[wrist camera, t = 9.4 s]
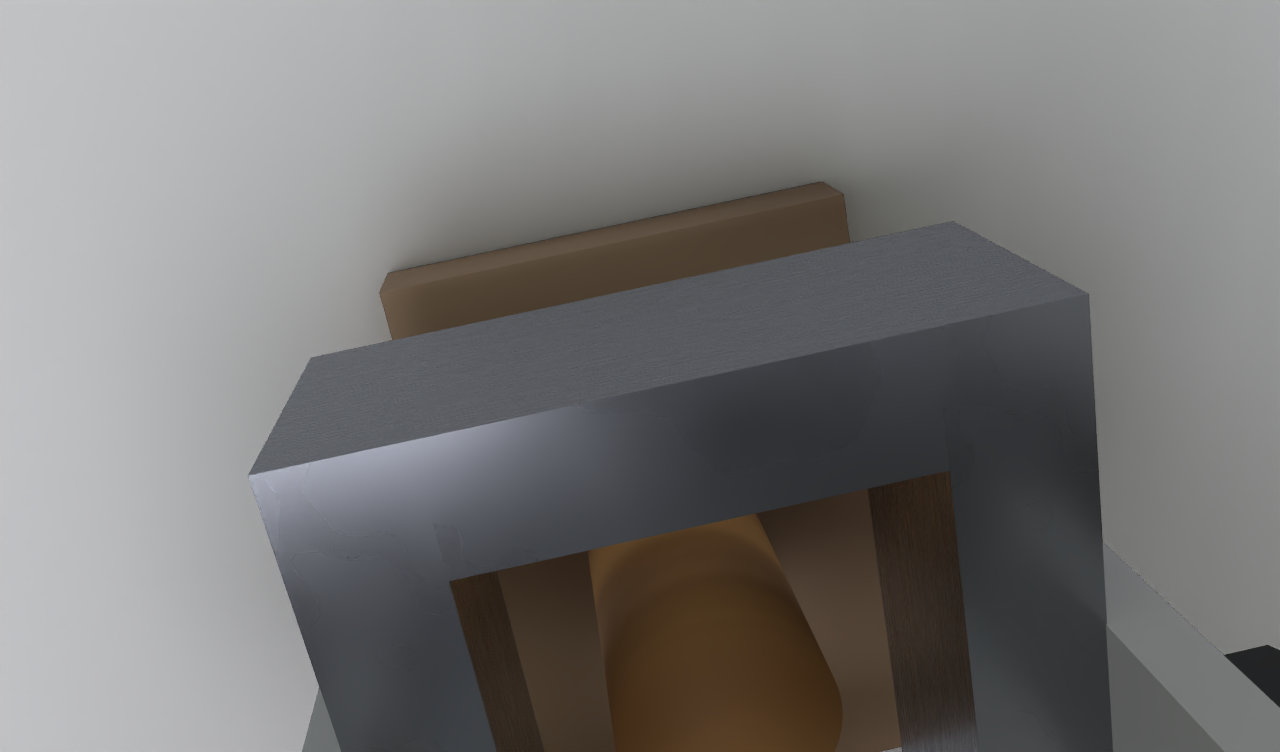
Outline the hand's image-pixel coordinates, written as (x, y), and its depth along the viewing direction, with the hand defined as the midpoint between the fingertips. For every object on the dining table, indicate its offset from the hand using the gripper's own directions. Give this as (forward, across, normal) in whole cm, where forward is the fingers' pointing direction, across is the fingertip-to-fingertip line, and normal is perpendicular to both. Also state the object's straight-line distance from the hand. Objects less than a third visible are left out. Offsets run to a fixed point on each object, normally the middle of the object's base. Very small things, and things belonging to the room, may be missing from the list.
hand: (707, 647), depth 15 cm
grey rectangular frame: (0, 0, 0) cm, 0 cm away
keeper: (+5, 0, 0) cm, 5 cm away
